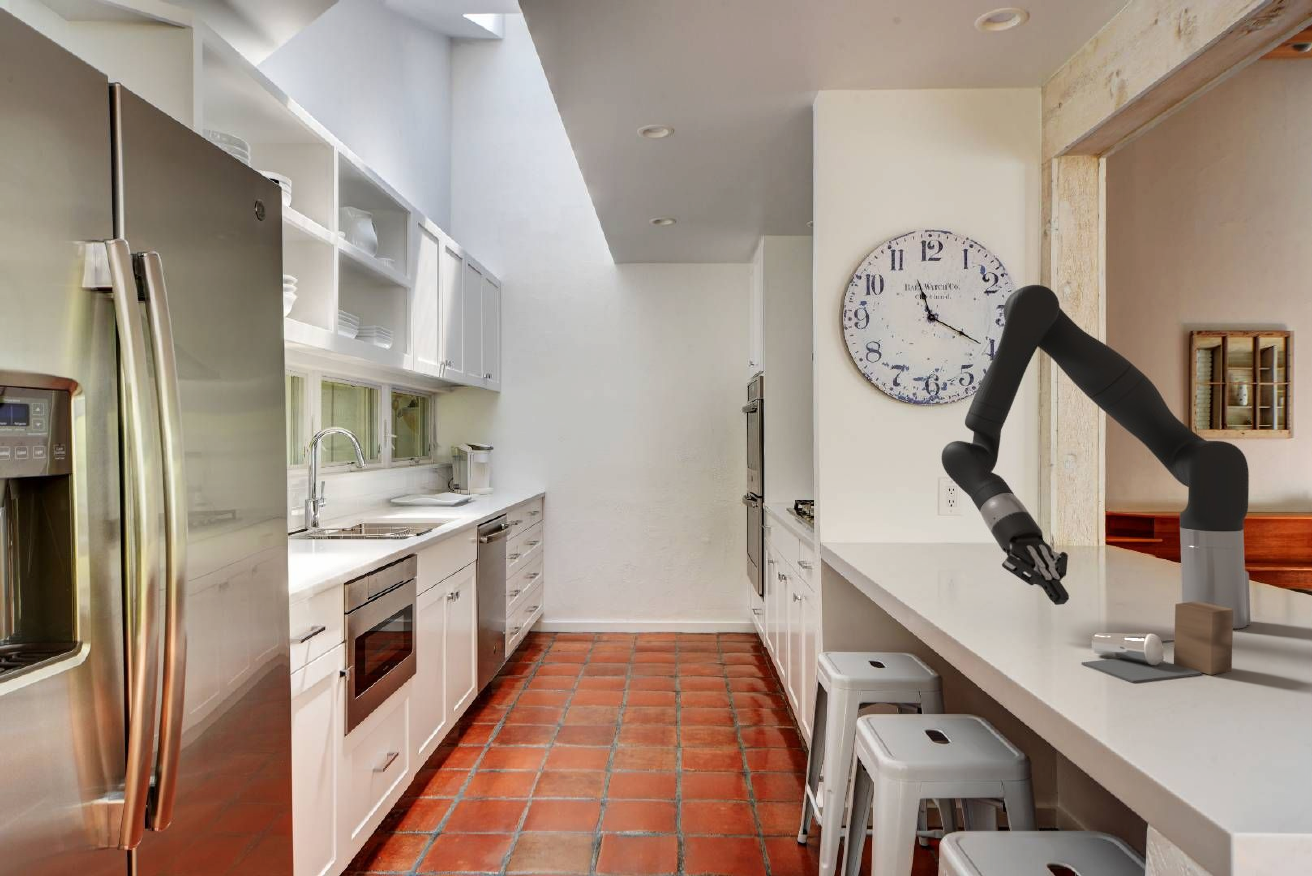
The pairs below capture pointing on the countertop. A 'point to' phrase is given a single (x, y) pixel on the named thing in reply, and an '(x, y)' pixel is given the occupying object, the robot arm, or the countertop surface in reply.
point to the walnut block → (1203, 637)
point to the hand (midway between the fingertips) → (1062, 602)
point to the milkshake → (1130, 646)
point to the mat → (1140, 670)
